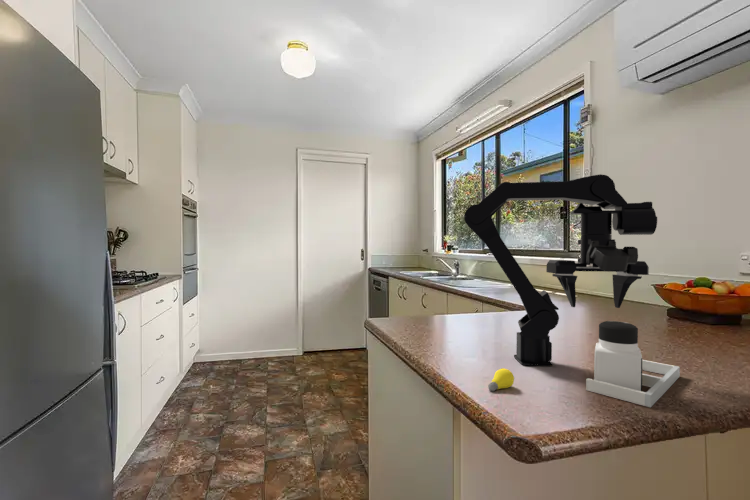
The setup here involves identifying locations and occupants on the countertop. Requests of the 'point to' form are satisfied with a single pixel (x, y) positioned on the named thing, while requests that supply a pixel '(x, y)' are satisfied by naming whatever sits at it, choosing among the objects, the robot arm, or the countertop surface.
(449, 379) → the countertop surface
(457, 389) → the countertop surface
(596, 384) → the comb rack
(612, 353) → the medicine bottle
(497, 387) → the light bulb
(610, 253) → the robot arm
